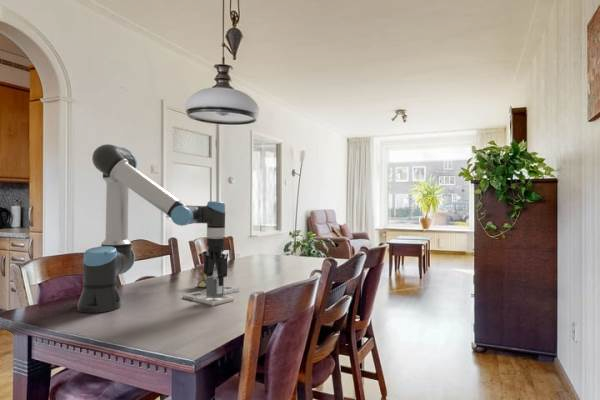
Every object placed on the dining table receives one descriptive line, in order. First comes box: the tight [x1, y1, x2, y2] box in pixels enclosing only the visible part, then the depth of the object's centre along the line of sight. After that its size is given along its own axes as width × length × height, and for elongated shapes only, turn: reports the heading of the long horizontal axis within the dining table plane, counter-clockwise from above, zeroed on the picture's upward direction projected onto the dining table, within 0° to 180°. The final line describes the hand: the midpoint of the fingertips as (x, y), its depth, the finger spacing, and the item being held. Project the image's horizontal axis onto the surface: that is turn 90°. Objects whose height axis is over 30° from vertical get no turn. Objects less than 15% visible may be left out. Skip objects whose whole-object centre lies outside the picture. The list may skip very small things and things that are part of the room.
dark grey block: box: [206, 275, 225, 299], centre depth 170 cm, size 5×5×8 cm
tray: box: [195, 294, 235, 307], centre depth 170 cm, size 11×11×2 cm
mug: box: [190, 263, 216, 289], centre depth 199 cm, size 12×9×11 cm
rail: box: [182, 285, 241, 302], centre depth 182 cm, size 26×8×2 cm, turn 141°
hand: (214, 292), depth 170 cm, fingers closed on dark grey block, 5 cm apart
